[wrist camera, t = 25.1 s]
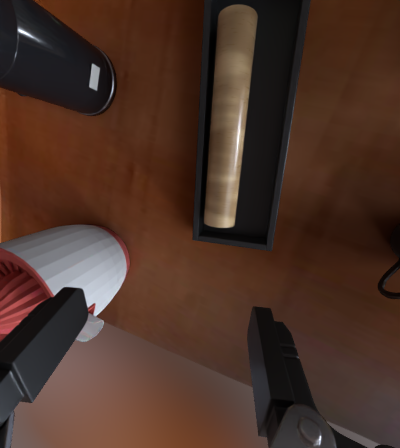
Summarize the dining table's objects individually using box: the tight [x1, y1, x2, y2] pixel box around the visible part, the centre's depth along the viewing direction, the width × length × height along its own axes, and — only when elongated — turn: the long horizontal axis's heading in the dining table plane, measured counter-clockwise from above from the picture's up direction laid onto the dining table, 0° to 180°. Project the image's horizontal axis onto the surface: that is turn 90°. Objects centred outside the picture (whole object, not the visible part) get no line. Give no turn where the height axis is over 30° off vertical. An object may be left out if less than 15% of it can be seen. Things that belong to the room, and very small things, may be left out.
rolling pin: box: [204, 5, 258, 228], centre depth 28 cm, size 24×4×4 cm
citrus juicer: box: [0, 224, 130, 342], centre depth 31 cm, size 16×17×20 cm
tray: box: [193, 0, 311, 251], centre depth 28 cm, size 11×31×4 cm, turn 177°
